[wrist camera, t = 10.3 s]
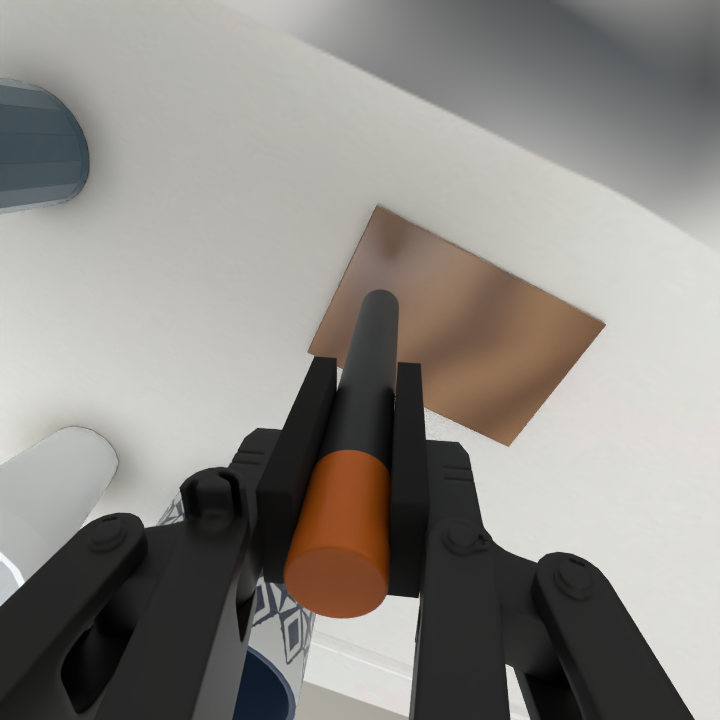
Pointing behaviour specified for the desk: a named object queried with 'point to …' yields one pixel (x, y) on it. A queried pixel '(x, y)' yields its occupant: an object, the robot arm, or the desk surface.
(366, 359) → the marker
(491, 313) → the brown wooden board
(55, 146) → the pen cup
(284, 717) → the planter
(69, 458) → the foam cup
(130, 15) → the desk surface
